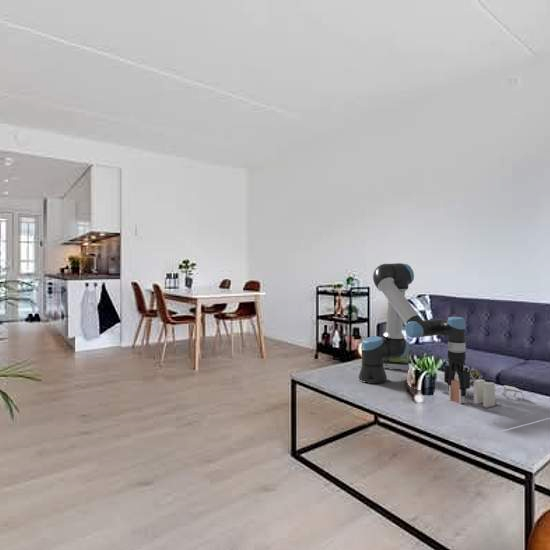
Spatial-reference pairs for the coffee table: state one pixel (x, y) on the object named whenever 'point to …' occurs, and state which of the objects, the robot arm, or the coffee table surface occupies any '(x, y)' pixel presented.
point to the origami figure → (509, 388)
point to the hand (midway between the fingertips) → (456, 400)
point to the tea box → (398, 362)
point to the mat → (470, 400)
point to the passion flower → (474, 376)
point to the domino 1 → (455, 390)
